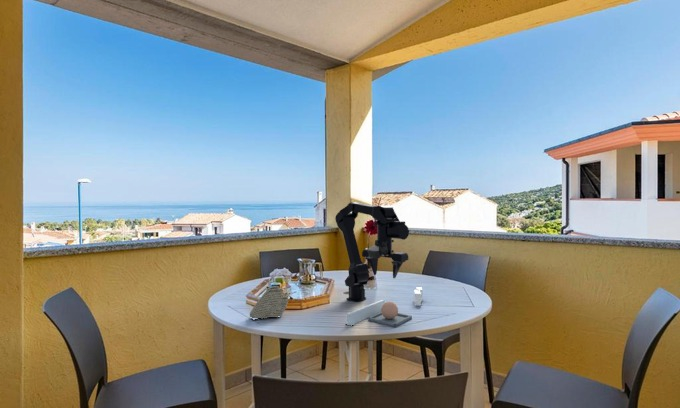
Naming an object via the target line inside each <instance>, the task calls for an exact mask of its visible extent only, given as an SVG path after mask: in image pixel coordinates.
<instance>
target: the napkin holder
mask: <svg viewBox="0 0 680 408" xmlns="http://www.w3.org/2000/svg"><path fill="white" fill-rule="evenodd" d="M423 301H424V300H423V287H422V286H419V287H417V286H416V287H415V289H414V290H413V302H414V306H416V307H417V306H418V307H421V306H422V302H423Z"/></svg>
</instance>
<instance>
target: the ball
mask: <svg viewBox="0 0 680 408" xmlns="http://www.w3.org/2000/svg"><path fill="white" fill-rule="evenodd" d="M381 312H382V315H383V316H384V317H385V318H387V319H393V318H395V317H396V316H397V314H398V313H399V307H398V305H397V304H395V303H394V302H393V301H386V302H385V303H384V304H383V306H382V308H381Z"/></svg>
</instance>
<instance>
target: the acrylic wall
mask: <svg viewBox="0 0 680 408" xmlns="http://www.w3.org/2000/svg"><path fill="white" fill-rule="evenodd" d="M384 303H386V302H385V299H381V300H378V301H376V302H373V303H371V304H367V305H366V306H363V307H360V308H358V309H355V310H352V311H350V312H347V313H346V315H347V316H346V320H347V321H346V322H344V325H345V324H347V325H346V326H348V325H351V326H350V327H353V326H352V325H354V326H355V325H356V324H357V323H359V322H361V321H364V320H366V319H368V318H369V317H371V316H373V315H376V314H378V313H380V312H381V308H382V306H383V304H384Z"/></svg>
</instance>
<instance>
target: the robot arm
mask: <svg viewBox="0 0 680 408" xmlns="http://www.w3.org/2000/svg"><path fill="white" fill-rule="evenodd" d="M359 214H364V215H366V216H367V215H369V216H371V217H372V219H375V220H376V221H375V222H374V223H373V226H377V228H376V229H377V230H376V232H377V233H376V235H377V236H376V237H377V239H374V240H375V241H374V245H371V246H370V247H369V248H366V249H363V250H362V251H361V254H360V251H359V245H358V242H357V239H356V234H355V231H354V229H355V226H356V218H358V216H359ZM334 219H335V223H336V225H337V228H338V229H339V230H340V231H341V232H342V236H343V239H344V244H345V247H346V248H345V249H346V251H347V255H348V260H349V265H348V266H349V267H348V275H347V277H346V278H345V280H344V283H345V286H346V287H348V297H347V298H346V300H347V301H352V302H356V303H357V302H358V303H359V302H361V301H363V300H366V299H367V297H366V289H365V286H366V285H368V282H369V278H370V270H369V266H368V264H367V263H364V262H363V261H362V258H361V256H362V257H364V259H365V260H367V262H369V265H370V267H371V270H372V274H373V275H375V276H376V275H377V273H378V272H377V271H378V263H379V262H378V261H379V259H380V258H381V257H382V258H390V259H391V260H392V261H391V264H392V278H393V279H396V277H397V275H398V273H399V271H400V268H401V267H402V265H403V263H406V261H409V255H408V253H407V252H405V251H404V252H401V251H398V252H395V251H394V249H393V243H394V242H395V241H394V240H401V241H402V240H403V241H404V240H406V239H407V238H408V237H409V234H410V230H409V227H408V226H407V225H406V221H405V220H404V221H403V220H402V221H401V220H400V219H399V218H398V215H397V213H396V211H395V209H394V207H393V206H391V205H371V204H367V203H361V202H359V201H357V202H355V201H354V202H349V203H348V204H347V205H346V206H344V207H343V208H342V209H340V210H339V211H338V212H337V214H336V215H335V218H334Z"/></svg>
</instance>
